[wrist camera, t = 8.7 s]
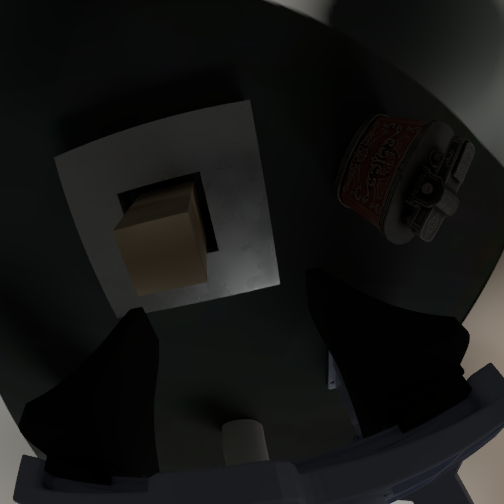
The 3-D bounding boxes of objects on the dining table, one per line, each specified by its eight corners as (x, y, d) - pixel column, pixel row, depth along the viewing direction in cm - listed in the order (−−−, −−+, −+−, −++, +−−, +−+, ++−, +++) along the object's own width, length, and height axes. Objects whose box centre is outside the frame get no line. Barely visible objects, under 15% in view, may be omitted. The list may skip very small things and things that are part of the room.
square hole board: (273, 267, 24) (280, 284, 22) (123, 300, 23) (117, 318, 21) (244, 101, 18) (249, 99, 16) (69, 152, 17) (54, 157, 15)
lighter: (357, 211, 23) (433, 272, 14) (324, 195, 22) (397, 253, 13) (398, 127, 20) (493, 149, 11) (367, 105, 19) (463, 113, 10)
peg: (206, 231, 22) (207, 282, 15) (155, 243, 21) (138, 296, 15) (193, 180, 20) (187, 211, 14) (140, 194, 20) (112, 231, 13)
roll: (289, 498, 25) (258, 509, 26) (270, 423, 35) (245, 439, 37) (250, 497, 22) (220, 507, 24) (236, 414, 33) (211, 431, 34)
